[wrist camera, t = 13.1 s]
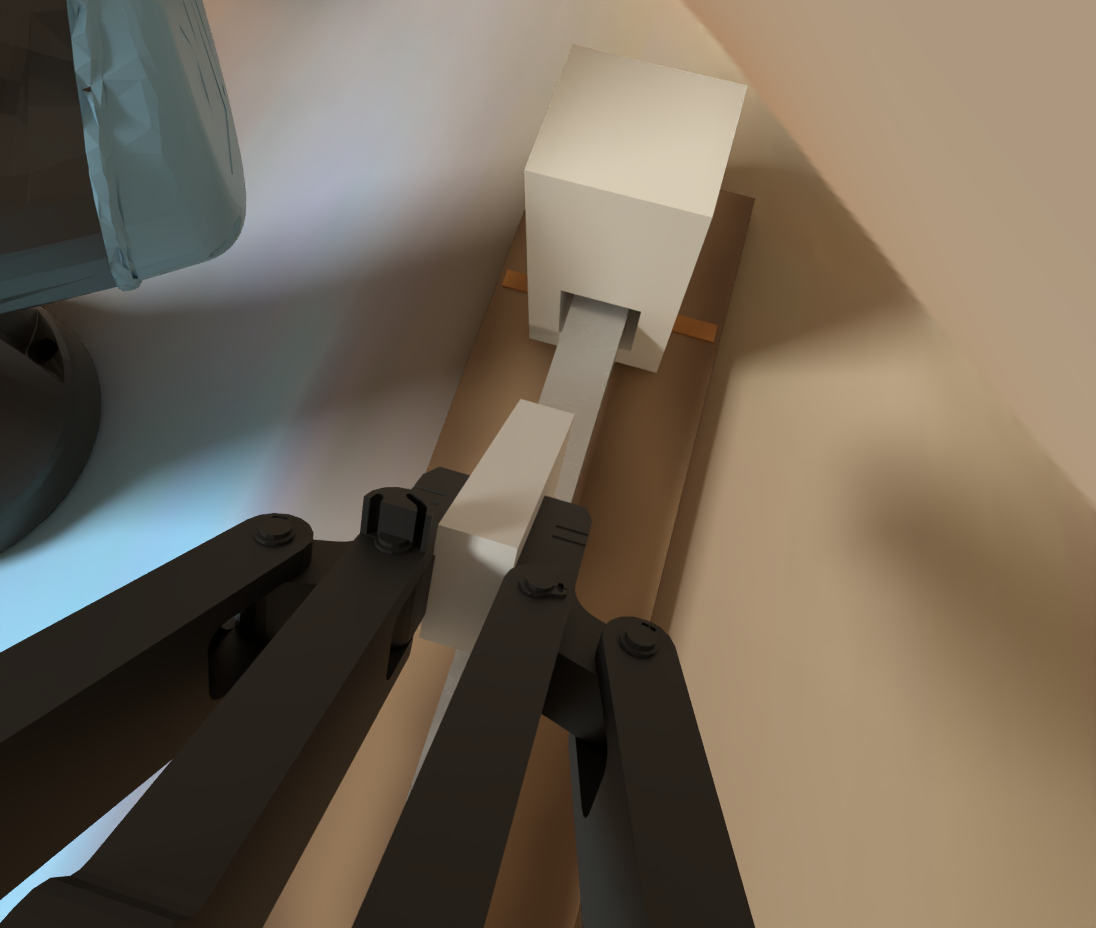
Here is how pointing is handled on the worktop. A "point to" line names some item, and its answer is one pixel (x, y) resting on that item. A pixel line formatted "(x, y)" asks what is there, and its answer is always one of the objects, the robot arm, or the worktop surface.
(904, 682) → the worktop surface
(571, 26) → the worktop surface
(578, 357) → the steel rod
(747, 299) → the worktop surface
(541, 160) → the sleeve
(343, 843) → the walnut board
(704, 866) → the robot arm
